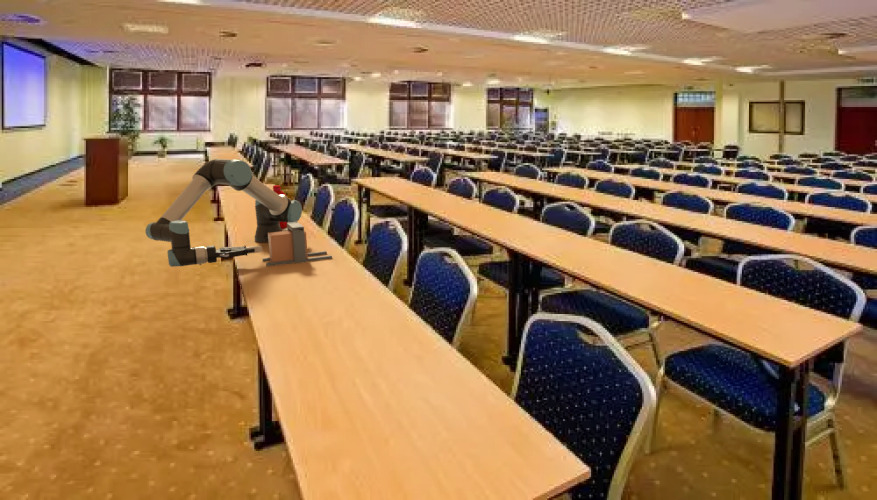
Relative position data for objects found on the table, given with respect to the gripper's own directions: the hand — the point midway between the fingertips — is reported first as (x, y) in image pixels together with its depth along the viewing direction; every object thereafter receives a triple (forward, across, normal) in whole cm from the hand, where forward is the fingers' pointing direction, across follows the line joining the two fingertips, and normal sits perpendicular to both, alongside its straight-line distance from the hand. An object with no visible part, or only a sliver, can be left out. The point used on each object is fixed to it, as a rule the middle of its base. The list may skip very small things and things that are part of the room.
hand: (261, 248), depth 277 cm
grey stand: (+16, 0, -7) cm, 17 cm away
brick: (+12, 0, -7) cm, 14 cm away
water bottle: (+23, -81, -7) cm, 84 cm away
